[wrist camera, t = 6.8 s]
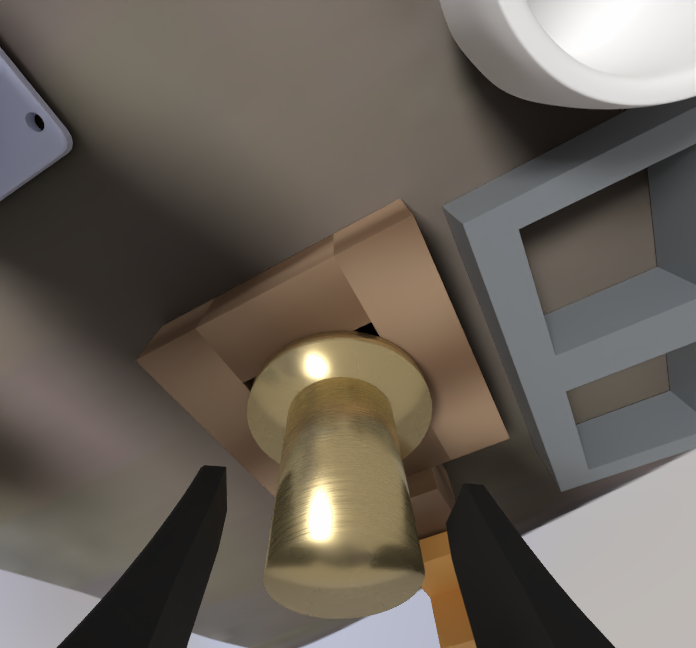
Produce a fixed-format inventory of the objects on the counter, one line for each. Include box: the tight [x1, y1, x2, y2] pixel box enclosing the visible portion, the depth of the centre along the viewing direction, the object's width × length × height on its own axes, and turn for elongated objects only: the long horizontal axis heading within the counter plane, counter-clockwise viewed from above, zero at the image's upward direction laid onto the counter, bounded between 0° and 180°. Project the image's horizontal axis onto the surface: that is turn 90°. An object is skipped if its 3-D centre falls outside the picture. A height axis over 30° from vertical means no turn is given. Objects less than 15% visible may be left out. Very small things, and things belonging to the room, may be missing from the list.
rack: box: [442, 96, 696, 492], centre depth 15 cm, size 15×8×2 cm, turn 28°
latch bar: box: [419, 531, 477, 648], centre depth 18 cm, size 8×2×3 cm, turn 28°
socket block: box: [135, 198, 510, 540], centre depth 16 cm, size 15×11×4 cm
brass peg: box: [247, 330, 432, 619], centre depth 13 cm, size 7×7×9 cm
